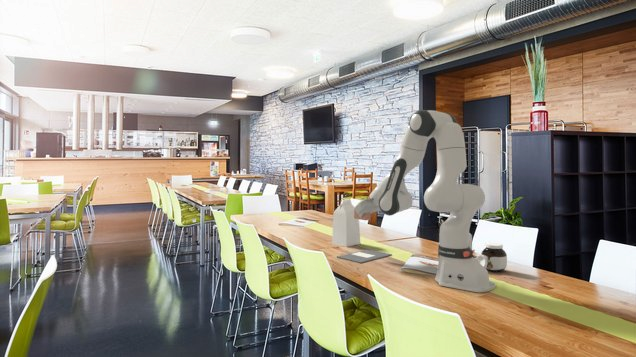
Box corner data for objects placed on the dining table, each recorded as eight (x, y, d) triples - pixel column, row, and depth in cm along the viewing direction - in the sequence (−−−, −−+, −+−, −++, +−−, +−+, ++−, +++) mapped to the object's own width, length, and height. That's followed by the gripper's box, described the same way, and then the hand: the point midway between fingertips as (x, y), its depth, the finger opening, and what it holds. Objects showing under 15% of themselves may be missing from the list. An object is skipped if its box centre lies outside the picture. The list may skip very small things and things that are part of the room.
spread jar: (509, 270, 175) (509, 244, 174) (498, 276, 167) (498, 248, 167) (482, 265, 184) (482, 240, 183) (470, 270, 176) (470, 244, 175)
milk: (346, 246, 225) (346, 200, 224) (332, 243, 234) (331, 199, 233) (360, 243, 234) (360, 199, 232) (346, 240, 242) (346, 198, 241)
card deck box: (358, 208, 207) (370, 209, 201) (358, 217, 207) (370, 219, 201) (354, 208, 204) (366, 210, 198) (354, 218, 205) (366, 220, 199)
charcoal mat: (391, 255, 205) (391, 254, 205) (360, 263, 188) (360, 262, 188) (367, 250, 216) (367, 249, 216) (336, 257, 200) (336, 256, 200)
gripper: (368, 204, 186) (352, 222, 194) (394, 201, 200) (379, 218, 208) (361, 194, 189) (346, 212, 197) (387, 192, 203) (372, 209, 211)
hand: (363, 215), depth 202 cm, fingers closed on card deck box, 3 cm apart
